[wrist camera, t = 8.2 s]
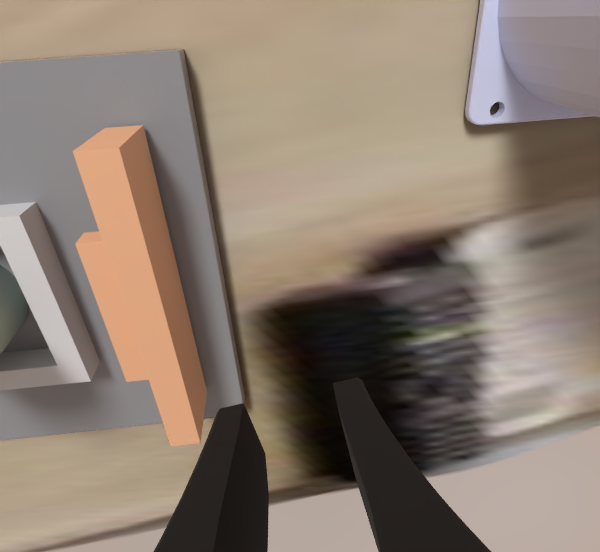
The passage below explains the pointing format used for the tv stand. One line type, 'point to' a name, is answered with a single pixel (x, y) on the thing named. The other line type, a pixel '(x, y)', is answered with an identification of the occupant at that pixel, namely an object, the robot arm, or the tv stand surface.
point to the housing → (80, 219)
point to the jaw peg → (10, 307)
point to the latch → (140, 278)
